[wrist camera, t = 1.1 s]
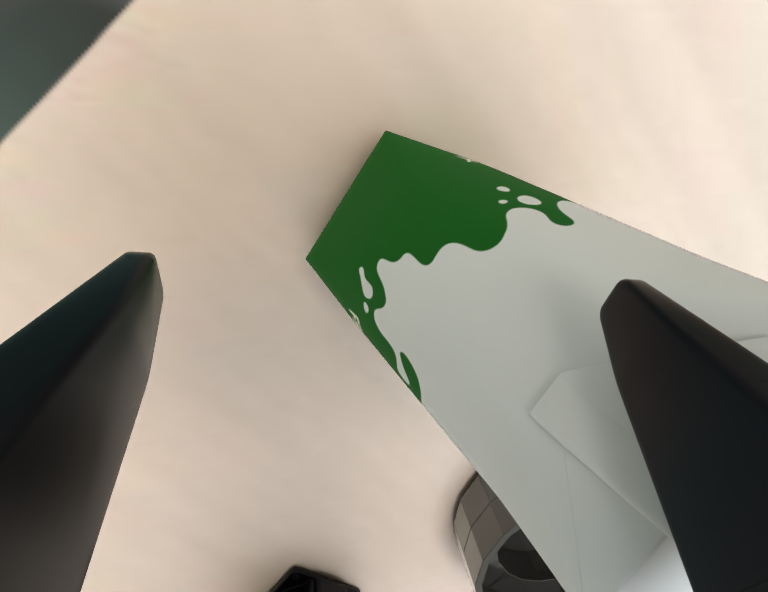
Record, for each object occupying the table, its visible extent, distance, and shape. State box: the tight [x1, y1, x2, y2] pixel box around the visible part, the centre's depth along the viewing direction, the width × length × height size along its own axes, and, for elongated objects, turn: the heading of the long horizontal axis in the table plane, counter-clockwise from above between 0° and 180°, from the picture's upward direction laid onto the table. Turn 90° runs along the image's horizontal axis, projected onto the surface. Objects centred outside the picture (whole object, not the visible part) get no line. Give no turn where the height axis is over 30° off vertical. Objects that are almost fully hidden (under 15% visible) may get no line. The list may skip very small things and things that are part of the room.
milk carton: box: [306, 131, 768, 592], centre depth 17 cm, size 9×9×20 cm
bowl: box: [454, 474, 565, 592], centre depth 35 cm, size 14×14×6 cm
